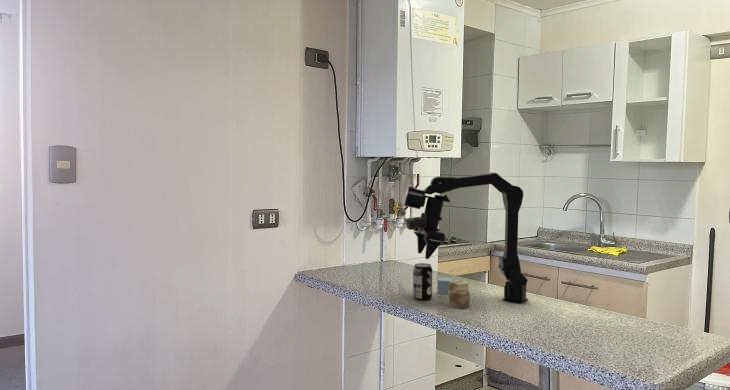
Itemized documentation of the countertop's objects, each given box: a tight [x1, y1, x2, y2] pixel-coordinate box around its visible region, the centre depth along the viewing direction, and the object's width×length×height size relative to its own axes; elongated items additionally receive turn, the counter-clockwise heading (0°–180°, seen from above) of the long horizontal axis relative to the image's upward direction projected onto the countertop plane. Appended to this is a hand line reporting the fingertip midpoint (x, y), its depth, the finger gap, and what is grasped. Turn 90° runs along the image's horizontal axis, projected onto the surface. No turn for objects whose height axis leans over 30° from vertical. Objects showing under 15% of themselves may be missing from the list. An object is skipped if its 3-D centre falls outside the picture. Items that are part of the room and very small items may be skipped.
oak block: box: [448, 279, 470, 296], centre depth 187 cm, size 5×5×5 cm
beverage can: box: [412, 262, 433, 302], centre depth 183 cm, size 7×7×12 cm
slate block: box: [437, 277, 455, 296], centre depth 192 cm, size 5×5×5 cm
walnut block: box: [448, 289, 471, 310], centre depth 173 cm, size 5×5×5 cm
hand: (423, 256), depth 182 cm, fingers open, 9 cm apart
